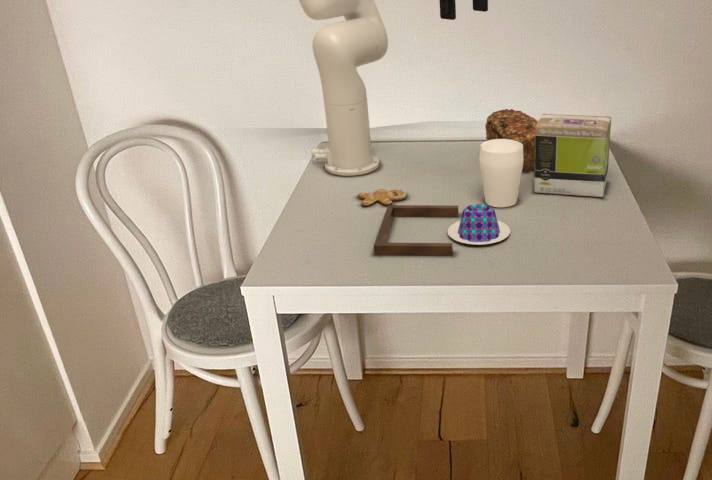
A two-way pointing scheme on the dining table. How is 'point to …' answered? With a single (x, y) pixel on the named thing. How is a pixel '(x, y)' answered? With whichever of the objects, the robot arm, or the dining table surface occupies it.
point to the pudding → (478, 226)
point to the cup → (501, 171)
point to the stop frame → (413, 248)
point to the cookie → (382, 196)
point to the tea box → (572, 154)
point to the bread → (514, 132)
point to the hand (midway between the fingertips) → (464, 14)
